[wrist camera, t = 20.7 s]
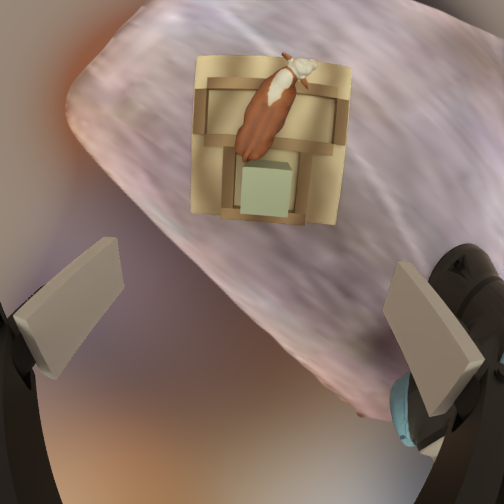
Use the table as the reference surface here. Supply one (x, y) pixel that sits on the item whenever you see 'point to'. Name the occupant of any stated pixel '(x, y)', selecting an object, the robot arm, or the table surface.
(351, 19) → the table surface
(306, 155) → the beech board
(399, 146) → the table surface
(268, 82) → the bull figurine
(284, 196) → the sage-green tail block
